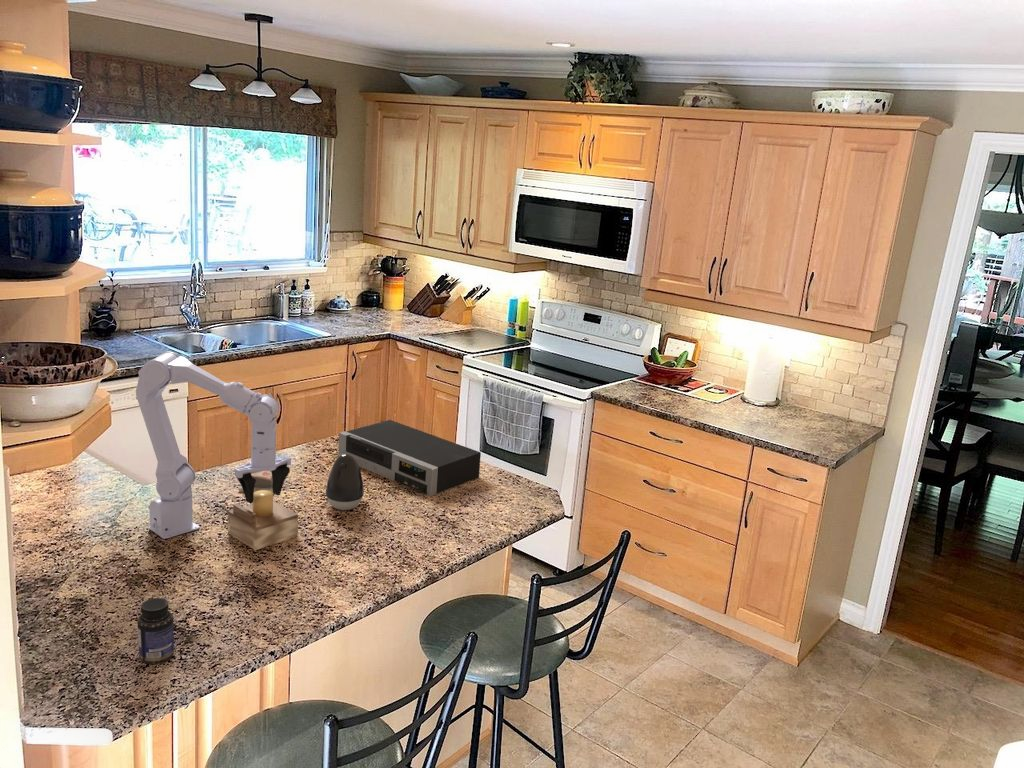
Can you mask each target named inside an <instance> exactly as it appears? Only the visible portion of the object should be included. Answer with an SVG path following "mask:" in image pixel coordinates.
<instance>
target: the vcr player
mask: <svg viewBox="0 0 1024 768" xmlns="http://www.w3.org/2000/svg"><path fill="white" fill-rule="evenodd" d="M337 446H338V449H337V450H338V452H337V455H338V456H340V455H342V454H350V455H352V456H353V457H354V458H355V459H356V461H357V463H358V465H359V468H362V469H365V470H366V471H370V472H372V473H374V474H376V475H379V476H380V477H381V476H382V477H384V478H386V479H388V480H390V481H393V482H396V483H398V484H400V485H403V486H405V487H408V488H410V489H412V490H414V491H415V490H416V491H417V492H419V493H423V494H424V495H427V496H428V497H432V496H436V495H437V494H440V493H443V492H445V491H448V490H451V489H453V488H456V487H458V486H461V485H463V484H467V483H468V482H471V481H474V480H477V479H478V478H480V469H481V468H480V467H481V457H482V456H481V455H482V453H481V451H479V450H478V451H477V450H475V449H473V448H470V447H467V446H463V445H461V444H459V443H456V442H453V441H450V440H447V439H444V438H441V437H439V436H436V435H433V434H431V433H428V432H425V431H423V430H420V429H418V428H417V429H416V428H414V427H411V426H409V425H405V424H403V423H400V422H398V421H395V420H392V419H388V420H384V421H380V422H377V423H372V424H369V425H366V426H362V427H358V428H355V429H350V430H346V431H345V430H344V431H341V432H338V445H337ZM338 456H337V457H338Z"/></svg>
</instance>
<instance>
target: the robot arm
mask: <svg viewBox="0 0 1024 768" xmlns="http://www.w3.org/2000/svg"><path fill="white" fill-rule="evenodd" d="M185 382H188V383H190V384H192V385H195V386H196V387H199V388H201V389H203V390H206V391H208V392H211V394H212V393H213V394H215V395H217V396H219V399H220V402H221V403H222V404H223V405H226V406H228V407H229V408H232V409H234V410H236V411H238V412H240V413H242V414H243V415H246V416H247V417H248V419H249V421H250V423H251V428H250V429H251V431H250V433H251V435H250V437H251V439H250V440H251V443H250V447H251V448H250V452H251V453H250V454H251V455H250V457H251V458H250V459H251V460H250V462H247V463H244V464H243V465H240V466H238V467H235V468H234V477H236V479H237V481H238V482H239V484H240V485H241V486H242V489H243V491H244V492H243V494H244V498H245V501H246V502H247V503H249V504H253V499H254V486H255V482H256V479H254V478H252V476H251V474H253V473H257V472H261V471H265V470H268V471H271V472H272V480H273V493H274V494H273V495H276V496H281V493H282V488H283V485H284V483H285V481H286V479H287V477H288V475H289V474H290V473H291V468H290V467H289V466H291V465H292V458H291V457H290V456H289V455H284V456H283V455H282V456H276V455H277V453H276V452H277V451H276V450H277V449H276V448H277V446H276V445H277V427H276V424H277V423H276V421H277V418H276V416H277V414H278V412H279V409H280V405H279V403H278V400H277V399H275V398H274V397H273V396H272V395H271V394H262V393H261V392H259V391H257V392H256V391H254V390H251V389H250V388H247V387H246V386H244V385H245V384H244V383H242V382H241V381H238V382H237V381H230V382H225V381H224V380H221V379H220V378H218V377H217V376H215V375H213V374H211V373H210V372H208V371H206V370H204V369H203V368H201V367H199V366H197V365H196V364H194V363H192V362H191V361H190V359H189V360H188V359H187V357H185V356H182V355H179V354H178V353H176V352H173V351H164V352H163V353H161V354H159V355H158V356H157V357H154V358H153V359H151V360H148V361H147V362H145V363H144V364H143V365H142V367H141V368H140V369H139V370H138V379H137V383H136V388H135V397H136V399H137V403H138V406H139V408H140V411H141V414H142V418H143V421H144V423H145V426H146V431H147V432H148V436H149V440H150V442H151V445H152V448H153V452H154V454H155V457H156V461H157V465H156V470H155V477H156V486H155V487H156V492H157V494H158V497H157V498H155V499H153V500H151V501H150V503H149V526H148V529H149V530H150V531H151V532H154V534H156V535H158V536H159V537H160V538H161V539H165V540H166V539H169V538H173V537H177V536H180V535H182V534H186V533H189V532H192V531H193V532H194V531H196V530H199V529H200V528H201V527H200V525H199V524H198V523H197V524H196V523H195V522H194V521H193V490H192V485H193V483H194V482H195V480H196V471H195V470H194V468H193V467H192V466H191V465H190V464H189V461H188V459H187V457H186V456H184V455H182V454H181V451H180V448H179V445H178V442H177V439H176V436H175V433H174V429H173V426H172V424H171V420H170V418H169V413H168V411H167V408H166V405H165V401H164V398H163V392H164V391H165V390H166V388H167V387H168V386H169V383H170V384H171V385H174V384H180V383H185Z"/></svg>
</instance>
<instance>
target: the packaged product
mask: <svg viewBox="0 0 1024 768" xmlns="http://www.w3.org/2000/svg"><path fill="white" fill-rule="evenodd" d="M251 476H252V478H254V479H256V482H255V486H254V492H256V491H260V490H267V491H271V492H272V493H273V480H272V472H271V471H268V470H265V471H261V472H257V473H253V474H251ZM239 491H242V492H241V493H244V491H243V489H242V486H241V484H240V486H238V492H239Z"/></svg>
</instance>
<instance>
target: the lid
mask: <svg viewBox="0 0 1024 768" xmlns="http://www.w3.org/2000/svg"><path fill="white" fill-rule="evenodd" d="M232 507H233V509H231V510H227V515H228V514H229V515H230V516H232V517H234V518H235V519H237V520H239V521H240V522H242V523H243V524H245V525H247V526H248V527H250V528H252V529H253V530H255V531H257V530H260V529H263V528H266V527H269V526H272V525H276V524H279V523H282V522H285V521H288V520H291V519H295V518H298V519H299V514H298V513H296V512H294V511H293V510H290V509H289V508H287V507H286V506H284V505H282V504H280V503H278V502H276V501H275V500H273V514H272V515H270V516H266V517H258V516H256V514H255V513H253V503H250V504H248V505H244V506H243V505H241V504H239V503H234V504H233V505H232Z"/></svg>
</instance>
